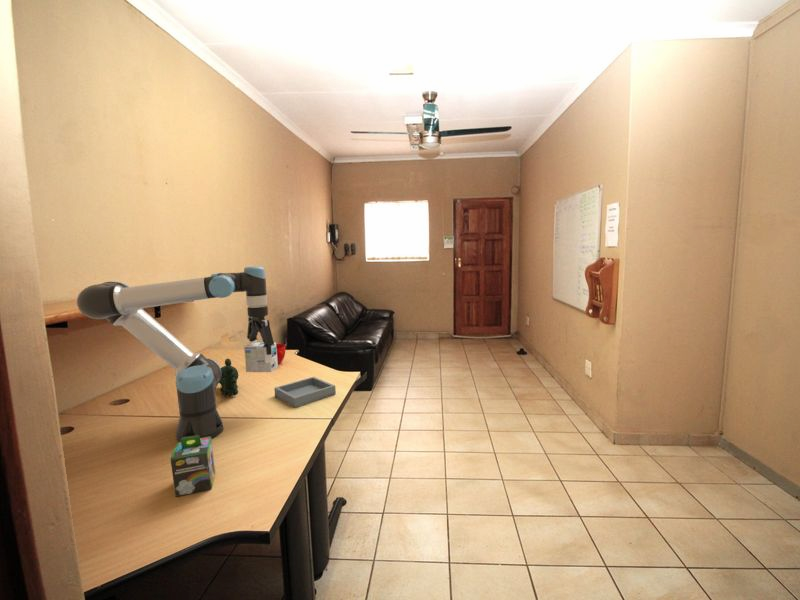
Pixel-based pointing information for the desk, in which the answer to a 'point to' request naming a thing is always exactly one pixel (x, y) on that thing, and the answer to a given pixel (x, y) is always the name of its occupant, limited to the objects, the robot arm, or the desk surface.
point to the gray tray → (304, 391)
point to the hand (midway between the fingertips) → (261, 359)
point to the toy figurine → (228, 379)
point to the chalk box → (193, 465)
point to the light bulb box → (259, 358)
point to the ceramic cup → (280, 352)
